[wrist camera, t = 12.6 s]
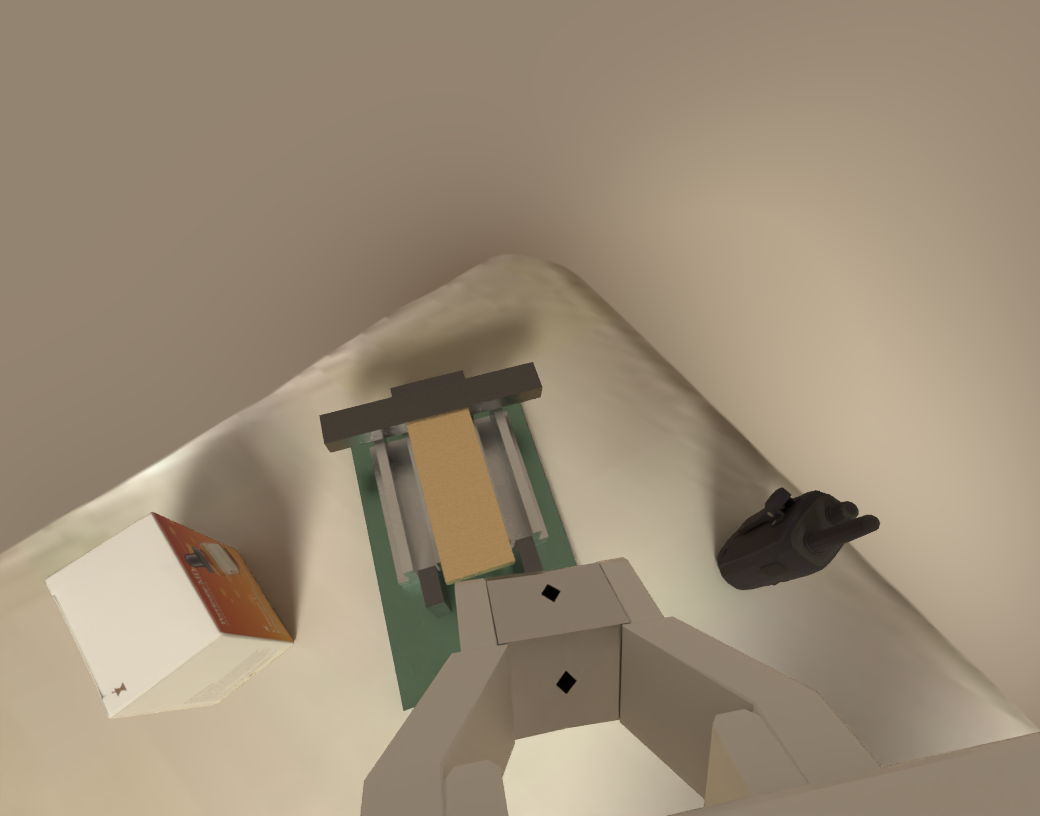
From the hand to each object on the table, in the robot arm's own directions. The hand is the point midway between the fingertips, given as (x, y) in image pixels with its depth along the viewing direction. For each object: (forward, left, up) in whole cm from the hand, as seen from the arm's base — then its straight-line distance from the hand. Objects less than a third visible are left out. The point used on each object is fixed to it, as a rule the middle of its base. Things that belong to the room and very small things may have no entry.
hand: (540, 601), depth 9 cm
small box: (+15, +10, -29) cm, 34 cm away
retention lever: (+3, -2, -22) cm, 22 cm away
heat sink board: (+7, -4, -29) cm, 30 cm away
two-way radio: (-10, -15, -29) cm, 34 cm away
